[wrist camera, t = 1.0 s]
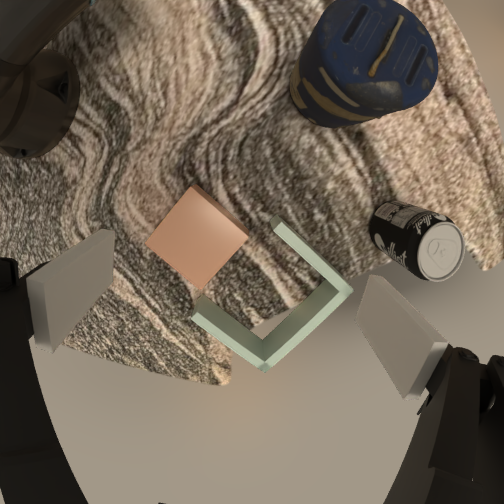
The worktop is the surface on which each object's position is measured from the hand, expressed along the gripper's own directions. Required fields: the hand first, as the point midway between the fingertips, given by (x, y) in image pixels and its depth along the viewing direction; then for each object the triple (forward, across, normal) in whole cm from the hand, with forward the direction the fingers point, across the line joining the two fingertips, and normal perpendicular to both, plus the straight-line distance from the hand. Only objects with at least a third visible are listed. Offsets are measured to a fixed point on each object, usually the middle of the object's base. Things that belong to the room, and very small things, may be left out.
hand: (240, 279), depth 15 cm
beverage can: (+21, +19, +1) cm, 28 cm away
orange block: (+22, -4, -4) cm, 22 cm away
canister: (+22, +7, +15) cm, 28 cm away
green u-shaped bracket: (+21, +5, -9) cm, 24 cm away
